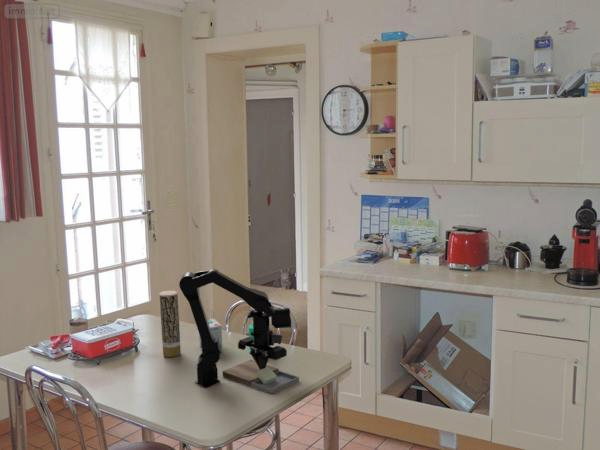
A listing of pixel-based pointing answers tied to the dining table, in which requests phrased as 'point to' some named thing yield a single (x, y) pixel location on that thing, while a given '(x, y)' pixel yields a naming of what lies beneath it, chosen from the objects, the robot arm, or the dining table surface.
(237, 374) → the walnut board
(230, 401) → the dining table surface
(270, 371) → the tile
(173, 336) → the brown bark cylinder
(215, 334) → the light bulb box
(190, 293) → the robot arm
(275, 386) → the tray
